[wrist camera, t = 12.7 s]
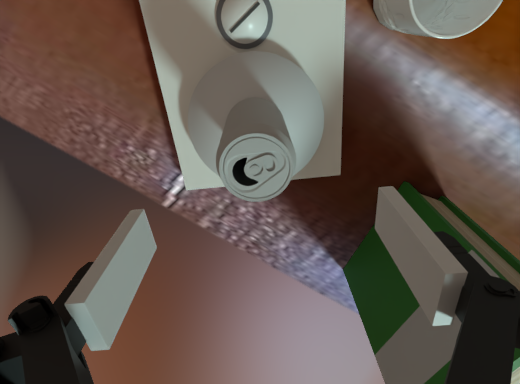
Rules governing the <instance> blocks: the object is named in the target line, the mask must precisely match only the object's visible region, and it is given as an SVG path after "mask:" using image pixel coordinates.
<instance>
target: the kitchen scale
mask: <svg viewBox="0 0 520 384" xmlns="http://www.w3.org/2000/svg"><path fill="white" fill-rule="evenodd" d="M345 1H346V0H139V2H140V6H141V10H142V14H143V18H144V22H145V26H146V30H147V34H148V38H149V42H150V46H151V50H152V54H153V58H154V62H155V66H156V70H157V74H158V78H159V82H160V86H161V91H162V95H163V99H164V103H165V107H166V111H167V115H168V119H169V123H170V127H171V131H172V135H173V139H174V143H175V147H176V151H177V155H178V159H179V163H180V167H181V171H182V175H183V179H184V183H185V187H186V190H195V189H205V188H215V187H225V186H224V184H223V182H222V180H221V178H220V177H219V174H218V172H217V168H216V153H217V149H218V146H219V143H220V139H221V136H222V133H223V129H224V126H225V123H226V119H227V116H228V114H229V112H230V110H231V109H232V108H233V107H234V106H235V105H236V104H237V103H238V102H240V101H242V100H244V99H247V98H253V97H258V98H263V99H266V100H268V101H270V102H272V103H273V104H274V105H276V106H277V107H278V109H279V110H280V111H281V113H282V115H283V118H284V121H285V124H286V126H287V129H288V132H289V135H290V138H291V141H292V144H293V146H294V149H295V153H296V168H295V171H294V174H293V176H292V178H291V180H295V179H305V178H315V177H325V176H335V175H341V143H342V108H343V72H344V37H345Z"/></svg>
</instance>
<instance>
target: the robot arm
mask: <svg viewBox="0 0 520 384" xmlns="http://www.w3.org/2000/svg"><path fill="white" fill-rule="evenodd" d="M375 230H376V232H377V233H378V235H379V237H380V238H381V240H382V242H383V243H384V245H385V247H386V248H387V250H388V252H389V254H390V255H391V257H392V259H393V260H394V262H395V264H396V265H397V267H398V269H399V271H400V272H401V274H402V276H403V277H404V279H405V281H406V282H407V284H408V286H409V287H410V289H411V291H412V293H413V294H414V296H415V298H416V299H417V301H418V303H419V304H420V306H421V308H422V309H423V311H424V313H425V315H426V316H427V318H428V320H429V321H430V323H431V325H432V326H441V325H452V323H453V320H454V317H455V314H456V316H457V317H458V319H459V320H460V321H461V323H462V324H461V327H460V330H459V333H458V336H457V339H456V344H455V347H454V351H453V354H452V358H451V361H450V364H449V368H448V371H447V375H446V378H445V382H444V384H511V377H512V368H513V360H514V352H515V348H518V349H520V291H519V290H518V289H517V288H516V287H515V286H514V285H512V284H511V283H509V282H508V281H506V280H503V279H501V278H498V277H494V276H490V275H489V274H488V272H487V271H486V270H485V269H484V268H483V267H482V266H481V265H480V264H479V263H478V262H477V261H476V260H475V259H474V258H473V257H472V256H471V255H470V254H468V251H467V250H466V249H465V248H464V247H462V245H461V244H460V243H459V242H458V241H457V240H456V239H455V238H454V237H452V236H451V235H449V234H447V233H446V232H444V231H439V232H432V230H431V229H430V228H429V227H428V226H427V225H426V224H425V222H424V221H423V220H422V219H421V218H420V217H419V215H418V214H417V213H416V212H415V211H414V210H413V209H412V207H411V206H410V205H409V204H408V203H407V202H406V201H405V199H404V198H403V197H402V196H401V195H400V194H399V192H398V191H397V190H396V189H395V188H394V187H393V186H387V187H379V189H378V199H377V210H376V220H375ZM156 248H157V246H156V243H155V241H154V238H153V234H152V232H151V229H150V226H149V223H148V220H147V217H146V214H145V211H144V209H139V210H131V211H130V212H129V213H128V215H127V216H126V218H125V219H124V220H123V222H122V223H121V225H120V226H119V228H118V229H117V230H116V232H115V233H114V235H113V236H112V237H111V239H110V240H109V242H108V243H107V245H106V246H105V247H104V249H103V250H102V252H101V253H100V254H99V256H98V257H97V259H96V260H95V261H94V262H88V263H87V264H86V265H84V266H83V267H82V268H81V269H79V270H78V271H77V273H76V274H75V275H74V277H73V278H72V280H71V281H70V282H69V284H68V285H67V287H66V288H65V289H64V290H63V291H62V293H61V294H60V295H59V297H58V298H57V299H56V301H55V302H54V304H52V303H51V301H50V299H48V297H47V296H37V297H33V298H31V299H28V300H26V301H24V302H23V303H21V304H20V305H18V306H17V307H16V308H15V309H14V310H13V311H12V312H11V314H10V315H9V317H8V321H9V323H10V324H11V325H12V327H13V328H14V329H15V331H16V332H15V333H12V334H8V335H5V336H2V337H0V384H94V383H93V380H92V377H91V374H90V371H89V368H88V365H87V363H86V360H85V357H84V355H83V353H82V351H81V350H82V348H83V346H84V345H85V343H86V342H87V344H88V346H89V348H90V349H91V351H95V350H109V349H110V347H111V345H112V343H113V341H114V338H115V336H116V334H117V332H118V330H119V328H120V325H121V323H122V321H123V319H124V317H125V315H126V313H127V310H128V308H129V306H130V304H131V302H132V300H133V298H134V295H135V293H136V291H137V289H138V287H139V285H140V283H141V280H142V278H143V276H144V274H145V272H146V270H147V267H148V265H149V263H150V261H151V259H152V257H153V254H154V252H155V250H156Z"/></svg>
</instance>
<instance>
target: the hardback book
mask: <svg viewBox="0 0 520 384" xmlns="http://www.w3.org/2000/svg"><path fill="white" fill-rule="evenodd" d="M397 191H398V192H399V194H400V195H401V196H402V197H403V198H404V199H405V201H406V202H407V203H408V204H409V205H410V206H411V207H412V209H413V210H414V211H415V212H416V213H417V214H418V215H419V217H420V218H421V219H422V220H423V221H424V222H425V224H426V225H427V226H428V227H429V228H430V229H431V230H432V232H439V231H444V232H446V233H447V234H449V235H451V236H452V237H454V238H455V239H456V240H457V241H458V242H459V243H460V244H461V245H462V247H464V248H465V249H466V250H467V251H468V254H470V255H471V256H472V257H473V258H474V259H475V260H476V261H477V262H478V263H479V264H480V265H481V266H482V267H483V268H484V269H485V270H486V271H487V272H488V274H489V275H490V276H494V277H498V278H501V279H503V280H506V281H508V282H509V283H511V284H512V285H514V286H515V287H516V288H517V289H518V290H519V291H520V261H519V260H518V259H517V258H516V257H515V256H513V255H512V254H511V253H510V252H509V251H508V250H506V249H505V248H504V247H503V246H502V245H501V244H500V243H498V242H497V241H496V240H495V239H494V238H493V237H492V236H490V235H489V234H488V233H487V232H486V231H485V230H483V229H482V228H481V227H480V226H479V225H478V224H477V223H475V222H474V221H473V220H472V219H471V218H470V217H469V216H467V215H466V214H465V213H464V212H463V211H462V210H460V209H459V208H458V207H457V206H456V205H455V204H454V203H452V202H451V201H450V200H449V199H448V198H447V197H444V196H442V195H441V197H440V198H439V199H438V200H436V199H433V198H431V197H428V196H425V195H423V194H420V193H419V192H418V191H417V190H416V189H415V188H414V187H413V186H412V185H411V184H410V183H408V182H405V181H404V182H403V183H402V185H401V186H400V188H399V189H398V190H397ZM343 271H344V274H345V276H346V279H347V282H348V284H349V287H350V290H351V292H352V295H353V298H354V301H355V303H356V306H357V309H358V311H359V314H360V317H361V319H362V322H363V325H364V328H365V330H366V333H367V336H368V338H369V341H370V344H371V346H372V349H373V352H374V355H375V357H376V360H377V363H378V365H379V368H380V371H381V373H382V376H383V379H384V381H385V384H444V382H445V378H446V375H447V371H448V368H449V364H450V361H451V358H452V354H453V351H454V347H455V344H456V339H457V336H458V333H459V330H460V327H461V324H462V323H461V321H460V320H459V319H458V317H457V316H456V314H455V317H454V320H453V323H452V325H441V326H432V325H431V323H430V321H429V320H428V318H427V316H426V315H425V313H424V311H423V309H422V308H421V306H420V304H419V303H418V301H417V299H416V298H415V296H414V294H413V293H412V291H411V289H410V287H409V286H408V284H407V282H406V281H405V279H404V277H403V276H402V274H401V272H400V271H399V269H398V267H397V265H396V264H395V262H394V260H393V259H392V257H391V255H390V254H389V252H388V250H387V248H386V247H385V245H384V243H383V242H382V240H381V238H380V237H379V235H378V233H377V232H376V230H375V224H374V225H373V227H372V228H371V230H370V231H369V232H368V234H367V235H366V237H365V238H364V240H363V241H362V243H361V244H360V246H359V247H358V248H357V250H356V251H355V253H354V254H353V256H352V257H351V259H350V260H349V261H348V263H347V264H346V266H345V267H344V269H343ZM511 384H520V349H518V348H515V352H514V360H513V368H512V377H511Z"/></svg>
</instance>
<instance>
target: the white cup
mask: <svg viewBox="0 0 520 384" xmlns="http://www.w3.org/2000/svg"><path fill="white" fill-rule="evenodd" d="M502 1H503V0H373V10H374V12H375V14H376V16H377V18H378V20H379V22H380V23H381V24H383V25H384V26H386V27H387V28H388V29H390V30H397V31H400V32H403V33H408V34H413V35H419V36H427V37H434V38H441V39H450V38H456V37H460V36H463V35H465V34H468V33H470V32H472V31H473V30H475V29H476V28H478V27H479V26H481V25H482V24H483V23H484V22H485V21H487V20H488V19H489V18H490V17H491V16H492V14H493V13H494V12H495V11H496V10H497V8H498V7H499V6H500V4H501V3H502Z"/></svg>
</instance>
